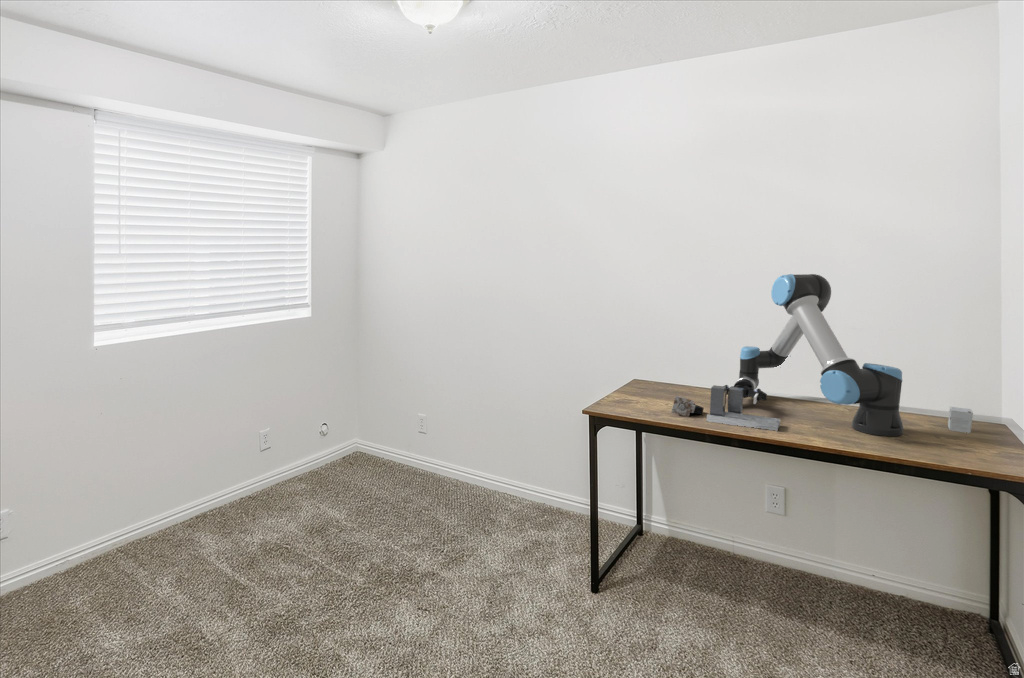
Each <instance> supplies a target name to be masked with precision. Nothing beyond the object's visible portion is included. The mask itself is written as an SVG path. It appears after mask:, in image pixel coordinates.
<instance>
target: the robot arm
mask: <svg viewBox="0 0 1024 678" xmlns="http://www.w3.org/2000/svg"><path fill="white" fill-rule="evenodd" d="M831 296H832V287H831V285H830V282H829V281H828V280H827V278H825V277H824V276H822V275H820V274H815V273H811V274H809V273H808V274H792V273H790V274H783V275H780V276H778V277H777V278H775V280H774V282H773V284H772V287H771V299H772V302H773V303H774V304H775V305H777V306H780V307H783V308H784V309H785V312H786V313H787V314H788V315H790V316H791V317H790V318H789V319H788V321H787V323H786V324H785V326H784V327H783V329H782V331H780V333H779V335H778V337H777V338H776V339H775V341H774V342H773V344H772V346H770V348H769V349H767V350H760V347H757V346H749V345H748V346H743V347H741V350H740V355H739V373H738V380H737V381H736V382H735V383H734V384H733V386H730V387H737V388H744V389H743V399H747V398H752V399H753V402H752V403H753V405H757V402H760V401H767V400H768V394H767V393H766V392H764V391H762V390H761V388H758V386H759V383H760V381H759V380H760V379H759V373H760V372H759V371H760V369H773V368H774V367H777V366H779V365H781V364H782V363H783V362H784V361H785V359H786V358H787V357H788V355H789V354H790V355H791V352H792V351H793V349H794V348H795V347H796V346H797V344H798V343H799V341H800V340H801V338H802V337H803V335H804V337H805V339H806V340H807V343H808V344H809V346H810V347H811V349H812V351H813V352H814V354H815V357H816V358H817V360H818V362H819V364H820V365H821V368H822V369H821V371H820V376H821V378H820V380H819V383H820V384H819V385H820V391H821V393H822V394H823V396H824V398H826V399H827V400H828V402H831V403H833V404H836V405H846V406H848V405H853V404H858V405H859V407H858V408H857V411H856V412H855V414H854V417H853V418H852V422H851V428H852V429H854V430H856V431H858V432H862V433H864V434H869V435H875V436H883V437H898V436H901V435H903V433H904V425H903V422H902V421H903V420H902V417H901V414H900V402H901V401H900V400H901V395H902V394H901V392H902V384H903V372H902V370H901V369H900V368H898V367H894V366H889V365H884V364H877V363H871V362H870V363H867V362H865V363H863V365H862V367H861V368H860V366H859V363H858V362H857V360H856V359H854V358H850V357H848V355H847V353H846V351H845V350H844V348H843V347H842V345H841V344H840V342H839V339H838V338H837V337H836V334H835V333H834V331H833V330H832V328H831V326H830V325H829V322H827V319H826V318H825V316H824V315H823V312H824V310H825V309H826V308H827V306H828V304H829V302H830V300H831ZM724 386H725V387H726V391H727V394H726V396H728V392H729V389H730V387H729V385H728V384H725V385H724Z"/></svg>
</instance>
